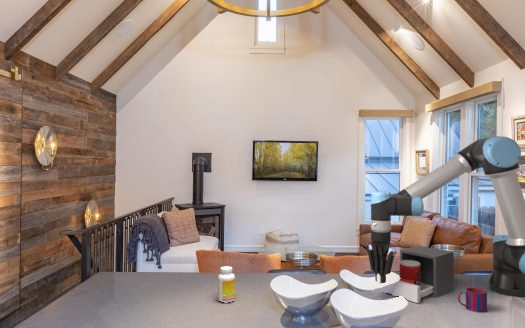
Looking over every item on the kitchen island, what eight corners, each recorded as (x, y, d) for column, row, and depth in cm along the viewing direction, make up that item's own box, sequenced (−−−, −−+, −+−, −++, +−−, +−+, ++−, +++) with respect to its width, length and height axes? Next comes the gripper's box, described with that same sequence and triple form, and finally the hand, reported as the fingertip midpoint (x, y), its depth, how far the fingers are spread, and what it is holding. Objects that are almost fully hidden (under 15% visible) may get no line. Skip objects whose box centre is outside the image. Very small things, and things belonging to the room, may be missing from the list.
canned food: (419, 294, 147) (418, 265, 147) (397, 290, 151) (397, 263, 151) (422, 288, 153) (422, 261, 153) (401, 285, 157) (401, 259, 157)
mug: (490, 312, 133) (490, 293, 133) (461, 312, 134) (461, 292, 134) (481, 305, 140) (481, 287, 140) (453, 305, 141) (453, 286, 141)
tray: (438, 294, 151) (438, 279, 151) (417, 303, 142) (417, 287, 142) (404, 285, 163) (404, 271, 163) (383, 292, 154) (383, 277, 154)
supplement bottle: (238, 300, 146) (238, 267, 146) (226, 305, 142) (225, 271, 142) (227, 296, 151) (227, 264, 151) (214, 301, 146) (214, 267, 146)
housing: (453, 290, 157) (453, 252, 157) (436, 297, 149) (435, 256, 149) (418, 281, 170) (418, 245, 170) (400, 287, 162) (399, 249, 162)
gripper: (361, 229, 151) (361, 287, 151) (389, 234, 141) (389, 297, 141) (373, 227, 156) (372, 284, 156) (400, 232, 145) (400, 293, 145)
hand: (380, 290), depth 148 cm, fingers closed
